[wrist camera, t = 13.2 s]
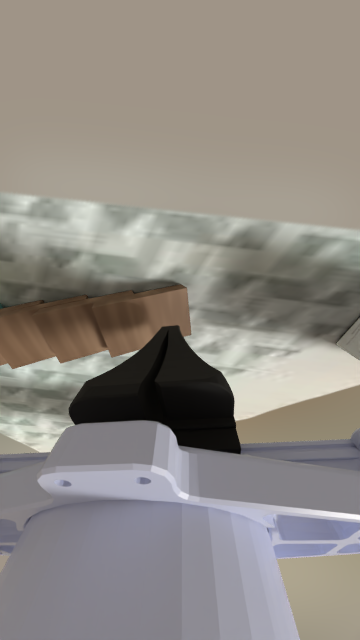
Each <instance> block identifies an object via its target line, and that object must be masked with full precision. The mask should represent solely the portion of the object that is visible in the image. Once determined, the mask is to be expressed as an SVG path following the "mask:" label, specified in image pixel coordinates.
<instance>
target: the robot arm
mask: <svg viewBox="0 0 360 640" xmlns="http://www.w3.org/2000/svg"><path fill="white" fill-rule="evenodd" d="M69 415H70V417H71V419H72V421H73V422H74V424H75V425H74V426H70V427H68V428H66V429H65V431H64V432H63V433H62V434H61V436H60V437H59V439H58V441H57V442H56V444H55V446H54V447H53V449H52V450H51V452H46V453H24V454H1V455H0V555H7V556H9V558H8V560H7V562H6V564H5V566H4V568H3V569H2V571H1V573H0V640H300V638H299V635H298V631H297V628H296V624H295V621H294V617H293V614H292V611H291V607H290V604H289V600H288V597H287V593H286V590H285V587H284V583H283V580H282V576H281V573H280V570H279V567H278V563H277V559H283V558H284V559H285V558H300V557H315V556H329V555H345V554H360V428H359V429H357V430H355V431H354V432H353V434H352V436H351V439H341V440H320V441H319V440H318V441H296V442H273V443H250V444H240V442H239V439H238V435H237V431H236V423H235V419H234V416H233V415H234V396H233V393H232V391H231V388H230V386H229V384H228V382H227V381H226V379H225V377H224V376H223V374H222V373H221V372H220V371H218V370H217V369H215V368H213V367H211V366H210V365H208V364H207V363H206V362H204V361H203V360H202V359H201V358H200V357H199V356H197V355H196V353H195V352H194V351H193V350H192V349H191V348H190V347H189V345H188V344H187V342H186V341H185V339H184V337H183V336H182V333H181V331H180V326H179V325H174V326H163V327H161V328H160V330H159V331H158V332H157V333H156V334H155V335H154V337H153V338H152V339H151V340H150V341H149V342H148V343H147V344H146V345H145V346H144V347H143V348H142V349H141V350H139V351H138V352H137V353H136V354H135V355H133V356H132V357H130V358H129V359H128V360H126V361H125V362H123V363H122V364H120V365H118V366H117V367H115V368H113V369H111V370H109V371H108V372H106V373H104V374H101V375H99V376H97V377H95V378H93V379H91V380H88V381H86V382H85V384H84V385H83V387H82V388H81V390H80V391H79V393H78V394H77V396H76V397H75V399H74V400H73V402H72V403H71V405H70V407H69Z"/></svg>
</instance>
